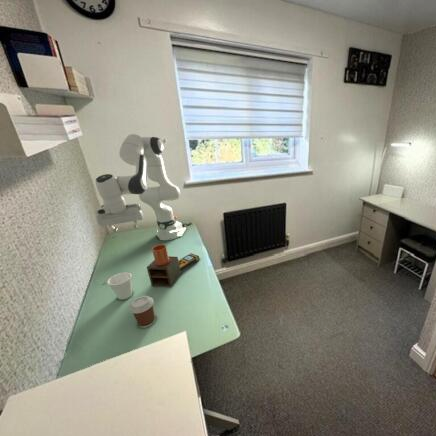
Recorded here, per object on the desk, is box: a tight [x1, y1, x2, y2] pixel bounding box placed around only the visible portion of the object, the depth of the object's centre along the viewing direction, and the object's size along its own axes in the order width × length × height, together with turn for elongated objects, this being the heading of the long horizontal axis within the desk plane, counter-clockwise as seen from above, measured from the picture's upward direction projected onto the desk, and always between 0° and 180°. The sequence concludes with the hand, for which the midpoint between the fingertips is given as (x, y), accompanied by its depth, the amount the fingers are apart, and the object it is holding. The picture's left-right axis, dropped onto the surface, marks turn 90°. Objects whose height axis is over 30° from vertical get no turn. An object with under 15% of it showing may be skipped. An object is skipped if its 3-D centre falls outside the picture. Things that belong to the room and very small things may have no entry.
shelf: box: [146, 255, 182, 288], centre depth 130 cm, size 11×11×12 cm
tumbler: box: [151, 243, 169, 265], centre depth 126 cm, size 6×6×9 cm
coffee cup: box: [128, 295, 156, 329], centre depth 103 cm, size 9×9×12 cm
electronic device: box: [178, 252, 200, 272], centre depth 145 cm, size 8×16×3 cm, turn 154°
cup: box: [106, 271, 133, 300], centre depth 118 cm, size 10×10×11 cm
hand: (126, 229), depth 128 cm, fingers open, 8 cm apart
